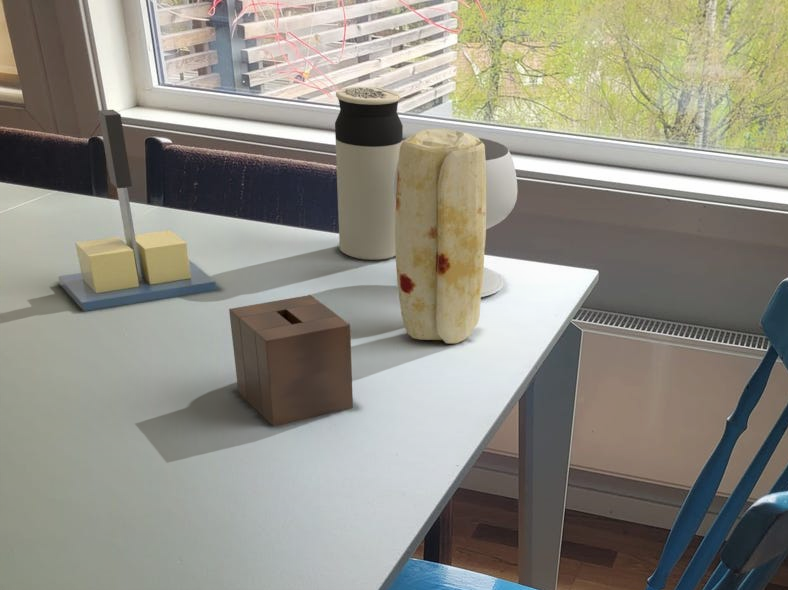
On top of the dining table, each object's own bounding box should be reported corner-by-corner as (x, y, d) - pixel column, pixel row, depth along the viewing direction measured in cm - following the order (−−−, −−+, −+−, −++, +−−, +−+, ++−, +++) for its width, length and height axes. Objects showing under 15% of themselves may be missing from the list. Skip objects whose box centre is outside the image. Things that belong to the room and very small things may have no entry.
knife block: (273, 427, 89) (265, 340, 84) (238, 392, 94) (228, 308, 89) (353, 408, 92) (350, 324, 87) (315, 375, 97) (310, 294, 92)
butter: (83, 311, 107) (74, 264, 104) (60, 285, 113) (50, 239, 109) (216, 290, 114) (211, 245, 111) (187, 265, 119) (182, 222, 116)
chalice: (392, 263, 124) (391, 130, 114) (503, 264, 125) (511, 134, 116) (396, 304, 113) (395, 162, 103) (517, 306, 114) (528, 166, 105)
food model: (464, 318, 111) (472, 120, 98) (494, 340, 106) (506, 136, 94) (385, 331, 107) (382, 127, 94) (412, 355, 102) (413, 143, 90)
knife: (133, 283, 111) (105, 115, 101) (126, 276, 113) (97, 110, 102) (147, 281, 112) (121, 114, 101) (140, 274, 114) (113, 109, 103)
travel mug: (353, 264, 122) (349, 101, 111) (330, 244, 128) (323, 87, 117) (412, 257, 126) (413, 98, 114) (387, 238, 131) (386, 84, 120)
